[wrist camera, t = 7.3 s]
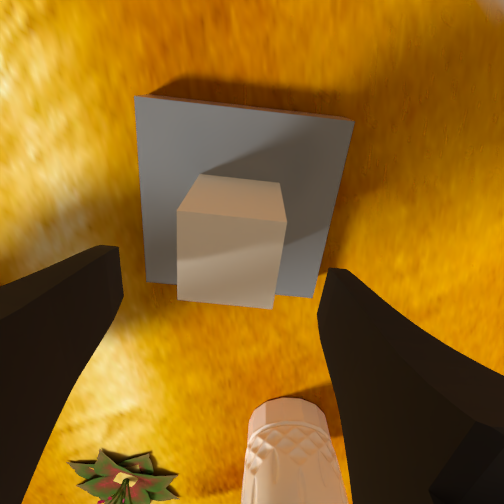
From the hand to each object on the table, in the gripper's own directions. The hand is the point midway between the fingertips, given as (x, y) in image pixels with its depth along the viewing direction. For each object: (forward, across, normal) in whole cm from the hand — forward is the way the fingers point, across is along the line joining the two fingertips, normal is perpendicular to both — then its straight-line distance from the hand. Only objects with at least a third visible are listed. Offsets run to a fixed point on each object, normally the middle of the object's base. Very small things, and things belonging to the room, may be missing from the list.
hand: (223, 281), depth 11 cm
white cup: (+9, -6, +20) cm, 23 cm away
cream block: (+6, 0, 0) cm, 7 cm away
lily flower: (+9, +9, +32) cm, 35 cm away
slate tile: (+8, 0, 0) cm, 9 cm away
